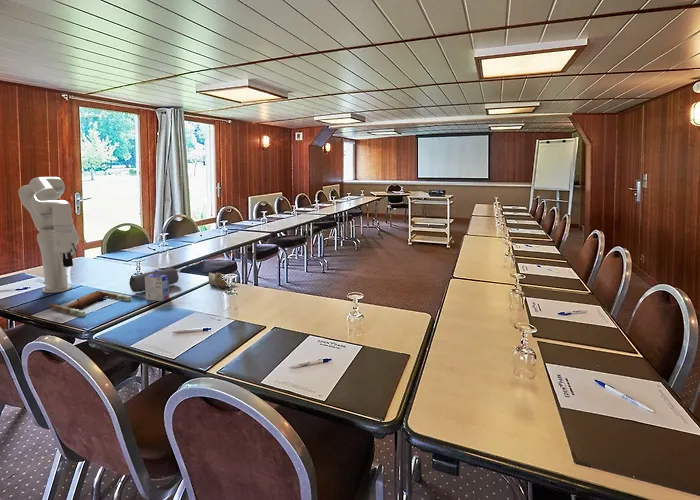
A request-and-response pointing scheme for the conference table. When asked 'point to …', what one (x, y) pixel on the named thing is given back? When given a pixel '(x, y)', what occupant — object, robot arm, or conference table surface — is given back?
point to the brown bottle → (86, 300)
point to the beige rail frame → (82, 313)
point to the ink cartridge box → (157, 287)
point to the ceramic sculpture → (217, 280)
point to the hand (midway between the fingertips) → (68, 266)
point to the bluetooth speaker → (139, 280)
